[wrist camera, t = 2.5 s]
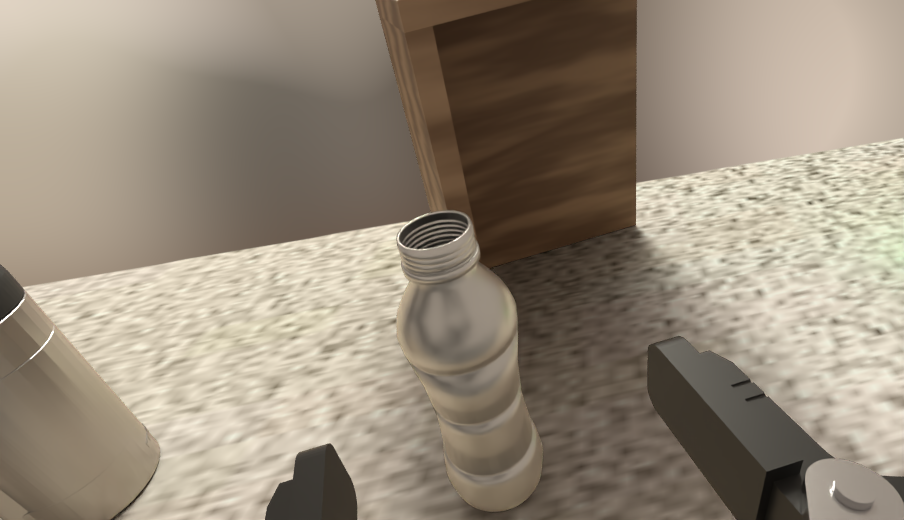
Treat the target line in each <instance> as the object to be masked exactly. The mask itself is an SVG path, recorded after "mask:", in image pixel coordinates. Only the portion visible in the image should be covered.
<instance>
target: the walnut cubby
mask: <svg viewBox="0 0 904 520" xmlns="http://www.w3.org/2000/svg"><path fill="white" fill-rule="evenodd" d="M375 1H376V5H377V8H378V12H379V16H380V20H381V24H382V28H383V31H384V35H385V39H386V43H387V47H388V51H389V54H390V58H391V62H392V66H393V69H394V74H395V77H396V81H397V85H398V88H399V93H400V96H401V100H402V104H403V108H404V112H405V116H406V119H407V123H408V127H409V131H410V135H411V138H412V142H413V146H414V150H415V154H416V158H417V161H418V165H419V169H420V173H421V177H422V180H423V184H424V188H425V192H426V196H427V199H428V203H429V207H430V211H431V212H436V211H442V210H455V211H460V212H463V213H465V214H467V215H468V216H469V217H470V219H471V221H472V224H473V229H474V234H475V239H476V240H477V242H478V244H479V248H480V259H479V262H480V263H482V264H483V265H484V266H486V267H487V268H492V267H495V266H498V265H502V264H505V263H509V262H512V261H515V260H519V259H522V258H526V257H529V256H532V255H536V254H539V253H542V252H546V251H549V250H553V249H556V248H559V247H563V246H566V245H569V244H573V243H576V242H580V241H583V240H586V239H590V238H593V237H597V236H600V235H603V234H607V233H610V232H613V231H617V230H620V229H624V228H627V227H630V226H634V225H636V40H637V39H636V38H637V36H636V35H637V9H636V8H637V0H375Z"/></svg>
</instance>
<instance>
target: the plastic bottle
mask: <svg viewBox="0 0 904 520" xmlns="http://www.w3.org/2000/svg"><path fill="white" fill-rule="evenodd" d="M397 246H398V249H399V253H400V256H401V259H402V261H401V266H402V270H403V273H404V275H405V277H406V278H407V279H408V280H409V283H408V286H407V288H406V290H405V292H404V294H403V296H402V299H401V302H400V305H399V308H398V312H397V339H398V341H399V344H400V346H401V348H402V350H403V353H404V355H405V356H406V358H407V360H408V361H409V363H410V365H411V366H412V368H413V370H414V371H415V373H416V375H417V376H418V378H419V379H420V381H421V383H422V384H423V386H424V388H425V390H426V392H427V394H428V396H429V399H430V401H431V403H432V406H433V407H434V410H435V412H436V415H437V417H438V421H439V426H440V430H441V434H442V439H443V450H444V459H445V465H446V472H447V475H448V478H449V480H450V482H451V484H452V485H453V487H454V488H455V490H456V491H457V492H458V494H459V495H460V496H461V497H462V498H463V499H464V500H465V501H466V502H467V503H468V504H469V505H471V506H473V507H474V508H476V509H479V510H482V511H488V512H501V511H505V510H509V509H512V508H514V507H516V506H518V505H520V504H521V503H522V502H524V501H525V500H526V499H528V497H529V496H530V495H531V494H532V493H533V492H534V490H535V488H536V487H537V485H538V483H539V480H540V477H541V472H542V463H543V446H542V443H541V440H540V437H539V434H538V432H537V429H536V427H535V424H534V423H533V421H532V419H531V417H530V416H529V413H528V410H527V407H526V404H525V401H524V397H523V394H522V391H521V382H520V374H519V366H518V319H517V309H516V303H515V300H514V298H513V296H512V294H511V292H510V291H509V289H508V287H507V286H506V284H505V283H504V282H503V281H502V280H501V279H500V278H499V277H498V276H497V275H496V274H495V273H494V272H492V271H491V270H490V269H489V268H487V267H486V266H484V265H483V264H482V263H480V262H479V259H480V248H479V244H478V242H477V240H476V239H475V234H474V229H473V224H472V221H471V219H470V217H469V216H468V215H467V214H465V213H463V212H460V211H455V210H442V211H436V212H431V213H428V214H425V215H422V216H419V217H417V218H415V219H413V220H412V221H410V222H408V223H407V224H406V225H404V226H403V227H402V228H401V229H400V231H399V232H398V234H397Z"/></svg>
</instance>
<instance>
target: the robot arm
mask: <svg viewBox="0 0 904 520" xmlns="http://www.w3.org/2000/svg"><path fill="white" fill-rule="evenodd" d="M648 392H649V396H650V399H651V401H652V404H653V406H654V408H655V409H656V411H657V412H658V414H659V415H660V416H661V418H662V419H663V421H664V422H665V423H666V425H667V426H668V427H669V429H670V430H671V431H672V433H673V434H674V435H675V437H676V438H677V439H678V441H679V442H680V444H681V445H682V446H683V448H684V449H685V450H686V452H687V453H688V454H689V456H690V457H691V458H692V460H693V461H694V463H695V464H696V465H697V467H698V468H699V469H700V471H701V472H702V473H703V475H704V476H705V477H706V479H707V480H708V482H709V483H710V484H711V486H712V487H713V488H714V490H715V491H716V492H717V494H718V495H719V496H720V498H721V499H722V500H723V502H724V503H725V505H726V506H727V507H728V509H729V510H730V511H731V513H732V514H733V515H734V517H735V518H736V519H737V520H904V477H895V476H880V475H879V474H877V473H876V472H874V471H873V470H871V469H869V468H867V467H865V466H863V465H860V464H858V463H855V462H852V461H848V460H843V459H835V458H834V457H832V456H831V455H830V454H828V453H827V452H826V451H825V450H824V449H823V448H821V447H820V446H819V445H818V444H817V443H816V442H815V441H814V440H813V439H812V438H811V437H810V436H809V435H808V434H807V433H806V432H805V431H804V430H803V429H802V428H801V427H800V426H798V425H797V424H796V423H795V422H794V421H793V420H792V419H791V418H790V417H789V416H788V415H787V414H786V413H785V412H784V411H783V410H782V409H781V408H780V407H779V406H778V405H776V404H775V403H774V402H773V401H772V400H771V399H770V398H769V397H766V396H765V394H764V392H763V391H762V390H761V389H760V388H759V387H758V386H757V385H756V384H755V383H751V381H750V379H749V378H748V377H747V376H746V375H745V374H744V373H743V372H742V371H741V370H740V369H739V368H738V367H737V366H736V365H735V364H734V363H733V362H731V361H729V360H727V359H725V358H723V357H721V356H719V355H717V354H715V353H713V352H711V351H706V352H703V353H699V352H698V351H697V350H696V349H695V348H694V347H693V346H692V345H691V344H690V343H689V342H688V341H687V340H686V339H684V338H683V337H681V336H677V337H674V338H671V339H667V340H664V341H661V342H658V343H654V344H651V345H649V347H648ZM159 458H160V447H159V444H158V442H157V441H156V440H155V438H154V437H153V436H152V435H151V434H150V433H149V431H148V429H147V428H146V427H145V426H144V425H143V424H142V423H141V422H140V421H139V420H138V419H137V418H136V417H135V416H134V414H133V413H132V412H131V411H130V410H129V409H128V407H127V406H126V405H125V404H124V403H123V402H122V401H121V399H120V398H119V397H118V396H117V395H116V394H115V393H114V391H113V390H112V389H111V388H110V387H109V386H108V385H107V383H106V382H105V381H104V380H103V379H102V378H101V377H100V375H99V374H98V373H97V372H96V371H95V370H94V369H93V367H92V366H91V365H90V364H89V363H88V362H87V361H86V359H85V358H84V357H83V356H82V355H81V354H80V353H79V351H78V350H77V349H76V348H75V347H74V346H73V345H72V343H71V342H70V341H69V340H68V339H67V338H66V337H65V335H64V334H63V333H62V332H61V331H60V330H59V329H58V327H57V326H56V325H55V324H54V323H53V322H52V321H51V319H50V318H49V317H48V316H47V315H46V314H45V313H44V311H43V310H42V309H41V308H40V307H39V306H38V305H37V303H36V302H35V301H34V300H33V299H32V298H31V297H30V295H29V294H28V293H27V292H26V291H25V290H24V289H23V288H22V287H21V286H20V284H19V283H18V282H17V281H16V280H15V279H14V277H13V276H12V275H11V274H10V273H9V272H8V271H7V270H6V269H5V268H4V267H3V266H2V265H0V519H2V520H110V519H112V518H113V517H114V516H115V515H117V514H118V513H119V512H121V511H122V510H123V509H124V508H125V507H126V506H127V505H128V504H129V503H131V502H132V501H133V500H134V499H135V498H136V496H137V495H138V494H139V493H140V492H141V491H142V490H143V488H144V487H145V486H146V484H147V483H148V481H149V480H150V478H151V477H152V475H153V473H154V471H155V469H156V467H157V465H158V461H159ZM265 520H357V500H356V493H355V489H354V486H353V483H352V480H351V478H350V476H349V474H348V473H347V471H346V469H345V467H344V465H343V463H342V462H341V460H340V458H339V456H338V454H337V453H336V451H335V449H334V447H333V446H332V445H331V444H326V445H322V446H319V447H316V448H312V449H309V450H306V451H302V452H299V453H298V454H297V456H296V460H295V467H294V475H293V480H289V481H286V482H283V483H280V484H279V485H278V487H277V489H276V491H275V493H274V495H273V497H272V499H271V501H270V503H269V505H268V507H267V511H266V517H265Z"/></svg>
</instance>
